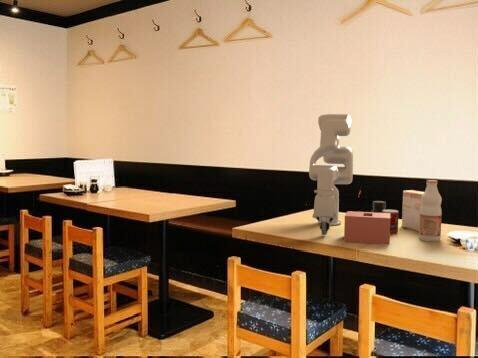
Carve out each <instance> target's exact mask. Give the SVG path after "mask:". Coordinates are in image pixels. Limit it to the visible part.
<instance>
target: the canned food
mask: <svg viewBox="0 0 478 358" xmlns="http://www.w3.org/2000/svg"><path fill="white" fill-rule="evenodd" d="M383 213H390V235H391V234H392V235H393V234H394V235H395V234H398V231H399V210H397V209H385V210H383Z"/></svg>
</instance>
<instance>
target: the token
mask: <svg viewBox="0 0 478 358" xmlns="http://www.w3.org/2000/svg"><path fill="white" fill-rule="evenodd" d="M326 223H327V221H323V222H322V231H321V236H326V235H327V234H328V231H326Z"/></svg>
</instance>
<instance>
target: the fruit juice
mask: <svg viewBox="0 0 478 358" xmlns="http://www.w3.org/2000/svg"><path fill="white" fill-rule="evenodd" d="M425 182H426V183H425V184H426V187H425V190H424V191H423V192H424V193H423V195H422V196H421V203H422V206H421V208H420V227H419V231H418V232H419V233H418V237H419V239H420V240H421V241H426V242H439V241H440V240H441V235H442V233H441V232H442V215H443V214H442V211H443V210H442V207H441V205H442V201H443V199H442V196H441V194H440V192H439V189H438V186H437V185H438V180H435V179H426V181H425Z"/></svg>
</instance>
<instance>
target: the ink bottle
mask: <svg viewBox="0 0 478 358" xmlns="http://www.w3.org/2000/svg"><path fill="white" fill-rule="evenodd" d="M386 202H387V201H383V200H374V201H373V200H372V208H373V209H372V210H371V211H370V212H373V213H383V210H386V208H387V206H386V205H387V203H386Z"/></svg>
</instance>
